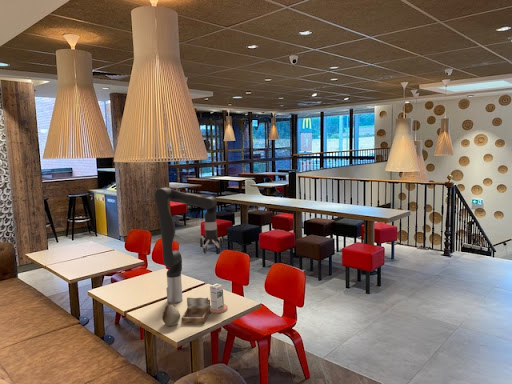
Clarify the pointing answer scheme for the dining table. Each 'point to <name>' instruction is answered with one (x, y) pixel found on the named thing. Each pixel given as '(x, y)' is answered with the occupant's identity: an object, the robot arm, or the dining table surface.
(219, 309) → the saucer
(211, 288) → the syrup box
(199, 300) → the frame
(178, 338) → the dining table surface
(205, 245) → the robot arm
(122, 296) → the dining table surface
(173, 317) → the fruit
